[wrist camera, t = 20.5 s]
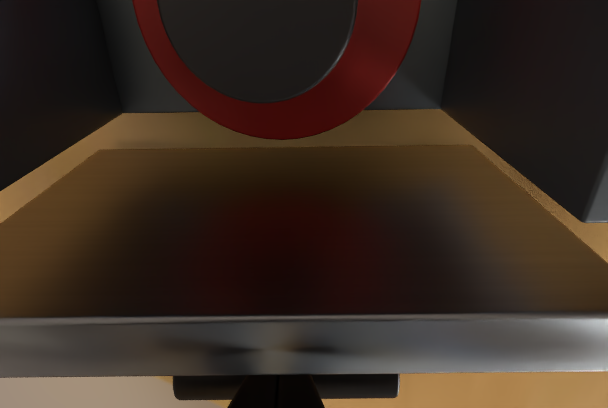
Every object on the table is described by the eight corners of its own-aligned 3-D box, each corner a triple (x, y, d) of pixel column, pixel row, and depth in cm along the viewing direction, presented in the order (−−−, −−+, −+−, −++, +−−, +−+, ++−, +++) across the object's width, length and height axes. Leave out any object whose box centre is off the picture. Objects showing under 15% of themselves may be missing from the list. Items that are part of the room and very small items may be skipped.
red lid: (400, 131, 10) (464, 218, 6) (167, 134, 10) (78, 223, 6) (436, -190, 7) (603, -426, 3) (106, -183, 7) (-141, -412, 3)
